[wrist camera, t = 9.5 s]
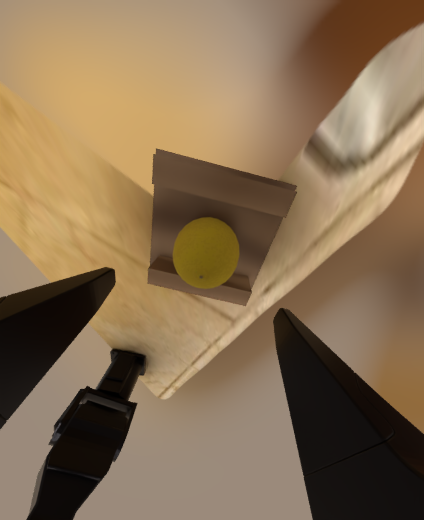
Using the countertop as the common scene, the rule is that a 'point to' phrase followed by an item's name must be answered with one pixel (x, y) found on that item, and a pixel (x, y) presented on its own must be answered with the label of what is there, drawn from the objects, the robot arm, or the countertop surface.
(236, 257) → the lemon
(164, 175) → the cradle
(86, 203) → the countertop surface
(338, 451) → the robot arm
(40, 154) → the countertop surface
